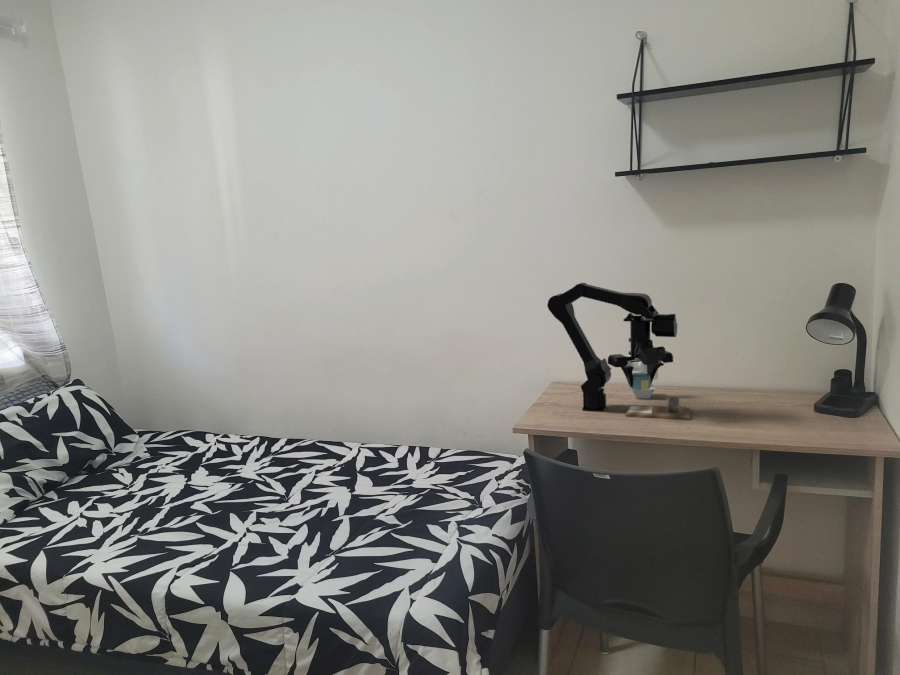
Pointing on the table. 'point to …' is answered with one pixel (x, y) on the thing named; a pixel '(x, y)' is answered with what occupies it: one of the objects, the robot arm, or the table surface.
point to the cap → (641, 381)
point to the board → (660, 411)
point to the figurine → (648, 392)
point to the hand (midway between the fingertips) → (640, 386)
